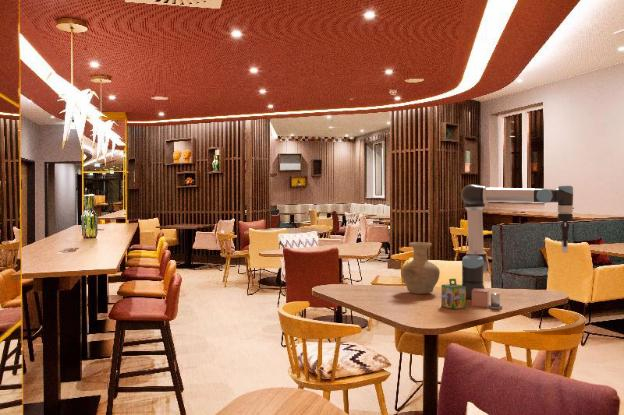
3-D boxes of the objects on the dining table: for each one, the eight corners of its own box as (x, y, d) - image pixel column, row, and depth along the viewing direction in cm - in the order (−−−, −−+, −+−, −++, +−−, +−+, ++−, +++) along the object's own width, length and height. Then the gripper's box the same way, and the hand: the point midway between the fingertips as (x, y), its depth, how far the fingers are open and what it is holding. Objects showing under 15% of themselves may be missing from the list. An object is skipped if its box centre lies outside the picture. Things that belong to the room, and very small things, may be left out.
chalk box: (453, 309, 270) (453, 280, 269) (440, 306, 278) (440, 278, 278) (466, 308, 274) (466, 279, 274) (453, 304, 282) (453, 277, 282)
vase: (397, 295, 309) (397, 244, 308) (404, 289, 330) (405, 241, 329) (436, 298, 301) (437, 245, 300) (441, 291, 322) (442, 242, 321)
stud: (487, 308, 272) (487, 294, 272) (488, 306, 279) (489, 292, 278) (501, 310, 269) (501, 295, 269) (503, 307, 276) (503, 293, 276)
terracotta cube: (471, 305, 280) (471, 290, 280) (473, 302, 287) (473, 288, 287) (487, 307, 277) (487, 291, 276) (489, 304, 284) (489, 289, 284)
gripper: (573, 214, 281) (572, 254, 281) (571, 212, 304) (571, 249, 304) (558, 213, 284) (557, 253, 285) (557, 212, 307) (556, 249, 307)
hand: (564, 251), depth 294 cm, fingers open, 13 cm apart
